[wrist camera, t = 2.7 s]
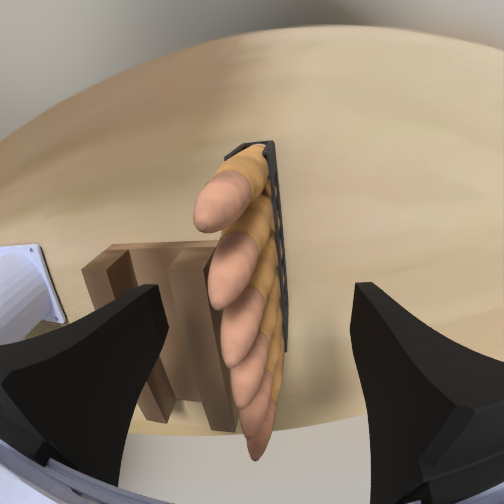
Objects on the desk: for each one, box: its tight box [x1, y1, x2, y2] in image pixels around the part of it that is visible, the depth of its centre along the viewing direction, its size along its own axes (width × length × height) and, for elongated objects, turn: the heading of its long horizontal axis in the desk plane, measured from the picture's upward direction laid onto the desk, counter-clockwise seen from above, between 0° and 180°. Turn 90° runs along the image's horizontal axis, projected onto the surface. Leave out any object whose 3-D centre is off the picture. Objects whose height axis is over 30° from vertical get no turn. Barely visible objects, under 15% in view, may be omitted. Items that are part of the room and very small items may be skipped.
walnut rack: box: [81, 240, 239, 432], centre depth 20 cm, size 8×15×4 cm, turn 4°
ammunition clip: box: [193, 141, 288, 461], centre depth 12 cm, size 11×2×12 cm, turn 7°
